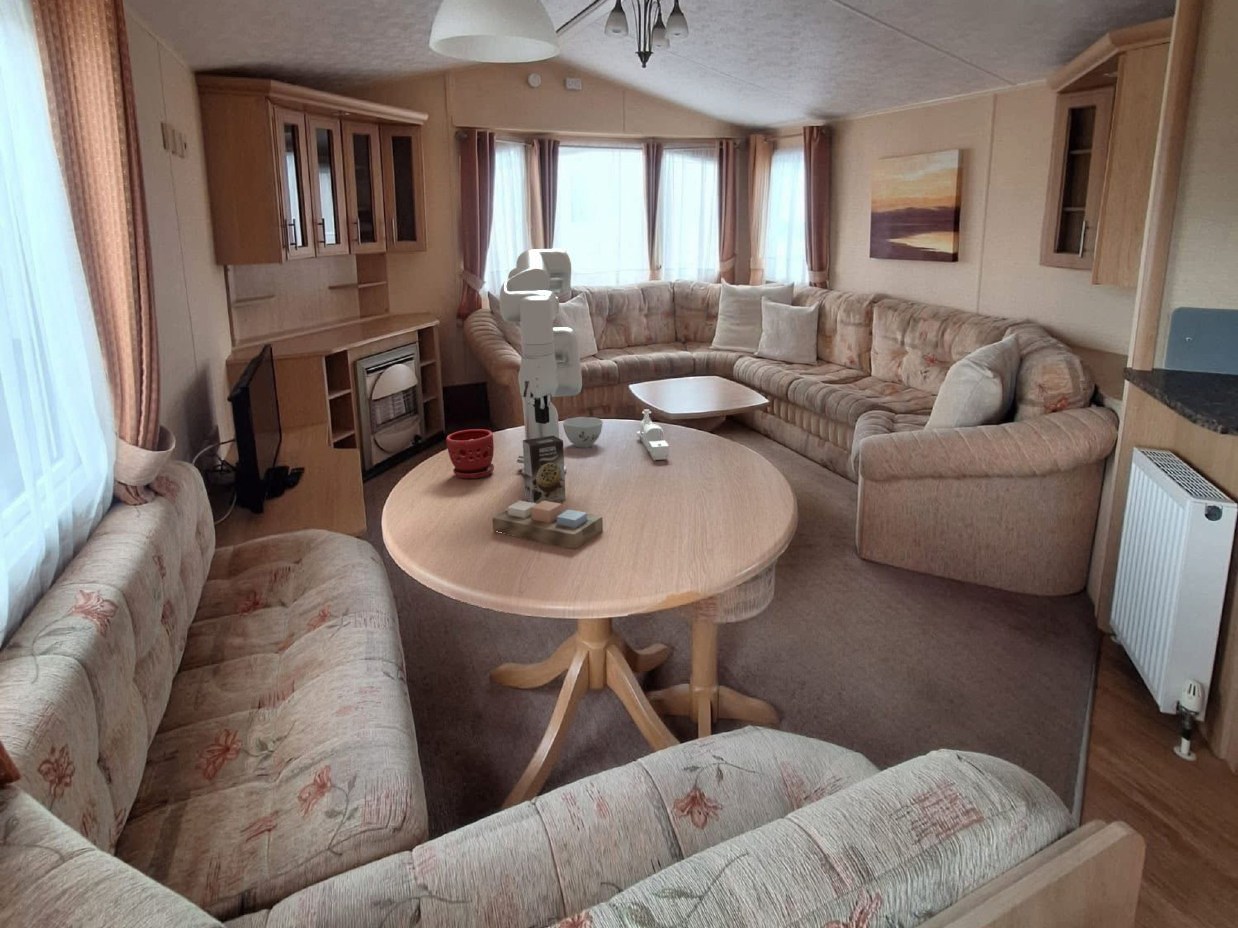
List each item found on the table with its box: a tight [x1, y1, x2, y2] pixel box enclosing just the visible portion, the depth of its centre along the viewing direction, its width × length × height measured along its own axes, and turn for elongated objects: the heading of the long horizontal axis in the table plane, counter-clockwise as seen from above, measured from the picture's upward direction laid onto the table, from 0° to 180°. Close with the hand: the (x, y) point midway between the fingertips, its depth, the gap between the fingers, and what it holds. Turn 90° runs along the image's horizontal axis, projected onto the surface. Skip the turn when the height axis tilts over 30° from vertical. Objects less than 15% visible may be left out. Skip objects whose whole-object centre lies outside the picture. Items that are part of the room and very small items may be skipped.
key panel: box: [491, 508, 604, 550], centre depth 191 cm, size 23×12×4 cm, turn 60°
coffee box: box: [522, 436, 567, 504], centre depth 210 cm, size 9×6×16 cm
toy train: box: [636, 408, 670, 461], centre depth 253 cm, size 6×30×10 cm, turn 8°
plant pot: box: [445, 428, 495, 479], centre depth 232 cm, size 13×13×12 cm
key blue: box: [557, 509, 588, 528], centre depth 187 cm, size 5×5×4 cm
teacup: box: [562, 416, 604, 448], centre depth 259 cm, size 15×12×8 cm
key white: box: [507, 500, 537, 518], centre depth 194 cm, size 5×5×4 cm
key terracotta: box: [531, 501, 563, 523], centre depth 190 cm, size 5×5×4 cm
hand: (542, 422), depth 200 cm, fingers closed
